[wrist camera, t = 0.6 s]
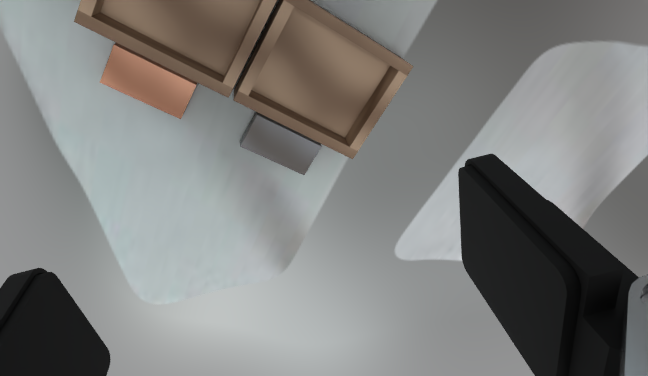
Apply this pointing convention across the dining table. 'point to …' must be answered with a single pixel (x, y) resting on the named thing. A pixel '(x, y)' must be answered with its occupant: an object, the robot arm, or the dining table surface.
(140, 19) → the terracotta tag dock
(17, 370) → the robot arm
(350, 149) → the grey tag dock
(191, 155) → the dining table surface
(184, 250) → the dining table surface
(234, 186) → the dining table surface
